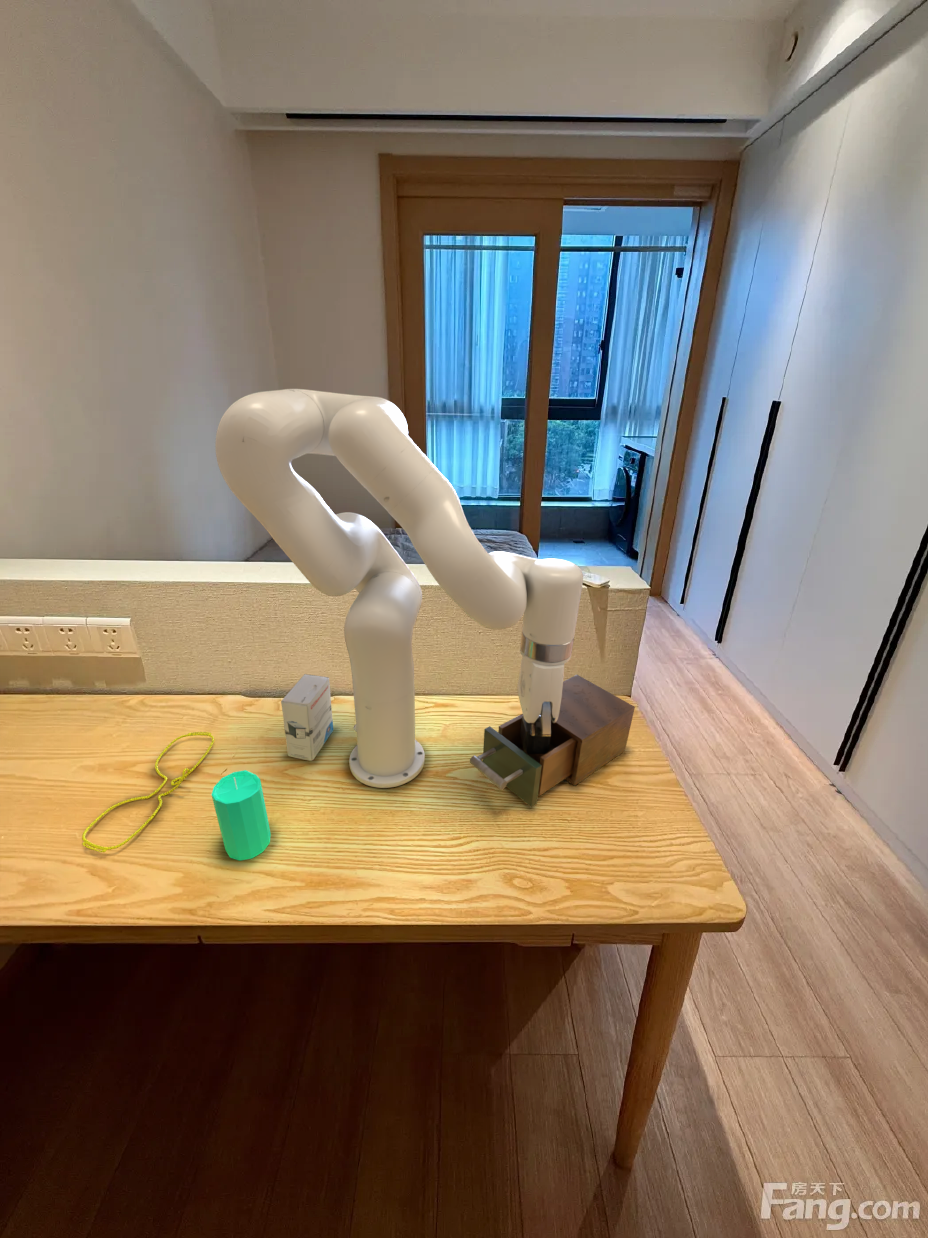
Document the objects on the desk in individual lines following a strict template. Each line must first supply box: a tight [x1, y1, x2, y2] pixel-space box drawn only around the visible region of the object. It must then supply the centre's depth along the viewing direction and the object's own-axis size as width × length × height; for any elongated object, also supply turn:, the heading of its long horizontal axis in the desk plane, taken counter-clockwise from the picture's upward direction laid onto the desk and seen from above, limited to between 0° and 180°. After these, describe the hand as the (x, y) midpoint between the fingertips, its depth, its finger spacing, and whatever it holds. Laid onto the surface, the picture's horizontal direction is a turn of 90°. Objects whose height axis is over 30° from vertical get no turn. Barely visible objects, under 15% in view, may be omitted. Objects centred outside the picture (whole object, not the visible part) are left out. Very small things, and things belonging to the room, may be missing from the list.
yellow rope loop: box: [81, 731, 215, 853], centre depth 79 cm, size 25×10×5 cm, turn 172°
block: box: [520, 716, 551, 751], centre depth 82 cm, size 4×4×4 cm
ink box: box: [280, 673, 334, 762], centre depth 88 cm, size 9×5×12 cm, turn 168°
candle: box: [211, 769, 272, 862], centre depth 70 cm, size 6×6×12 cm
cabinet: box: [551, 674, 636, 786], centre depth 90 cm, size 14×13×10 cm
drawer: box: [468, 713, 578, 808], centre depth 83 cm, size 18×11×8 cm, turn 129°
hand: (533, 741), depth 83 cm, fingers closed on block, 4 cm apart
